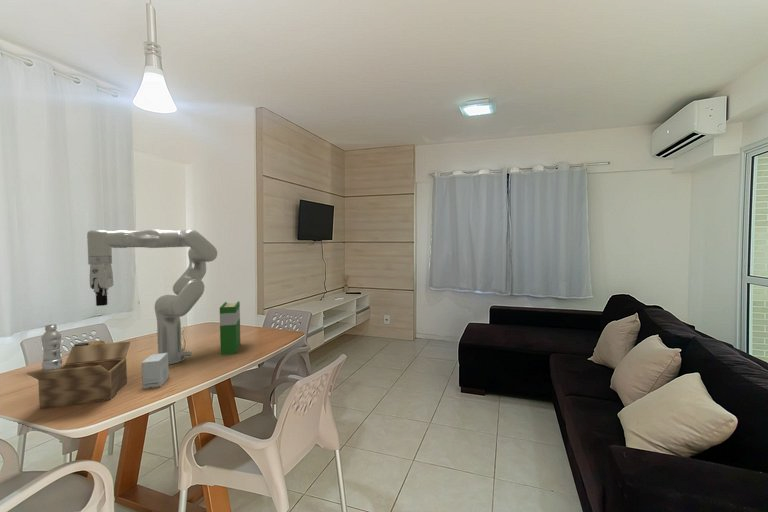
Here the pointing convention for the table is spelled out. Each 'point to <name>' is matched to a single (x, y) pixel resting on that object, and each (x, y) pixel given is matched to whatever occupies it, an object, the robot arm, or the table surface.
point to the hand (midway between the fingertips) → (101, 305)
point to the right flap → (97, 352)
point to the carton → (83, 385)
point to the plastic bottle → (51, 348)
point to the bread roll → (96, 342)
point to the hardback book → (230, 328)
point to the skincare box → (155, 370)
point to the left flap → (68, 372)
